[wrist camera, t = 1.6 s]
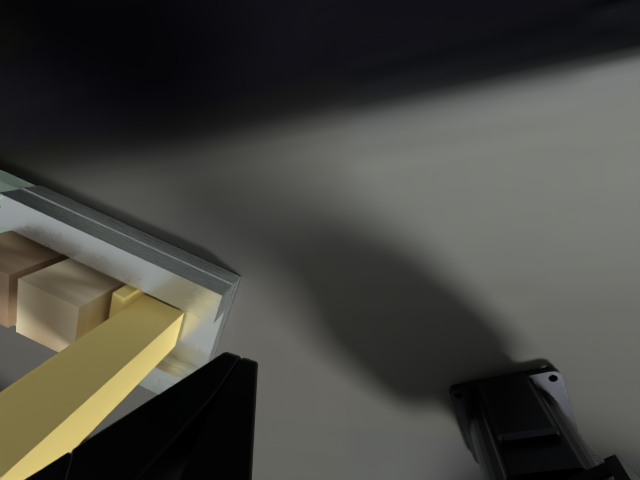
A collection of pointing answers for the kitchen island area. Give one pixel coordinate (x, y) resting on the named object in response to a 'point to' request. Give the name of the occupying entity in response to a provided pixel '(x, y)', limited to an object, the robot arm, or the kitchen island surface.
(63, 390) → the tall yellow pillar
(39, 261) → the walnut block
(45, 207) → the slot rail
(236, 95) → the kitchen island surface
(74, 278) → the maple block
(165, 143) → the kitchen island surface
